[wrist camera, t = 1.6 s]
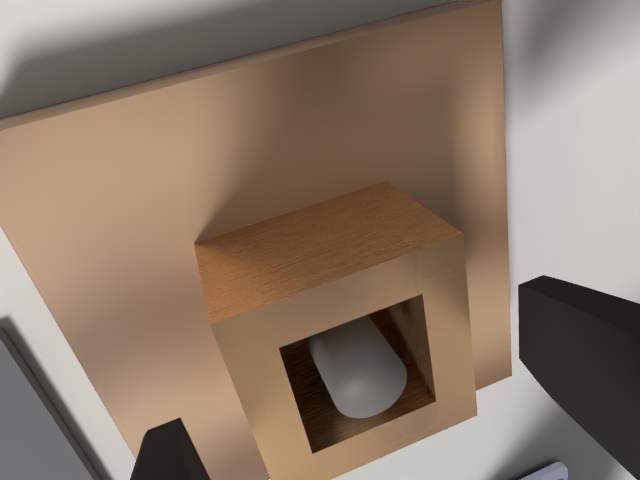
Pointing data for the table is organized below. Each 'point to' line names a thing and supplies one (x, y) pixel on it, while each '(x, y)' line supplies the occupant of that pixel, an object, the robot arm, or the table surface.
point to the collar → (335, 309)
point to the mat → (33, 428)
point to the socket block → (256, 207)
